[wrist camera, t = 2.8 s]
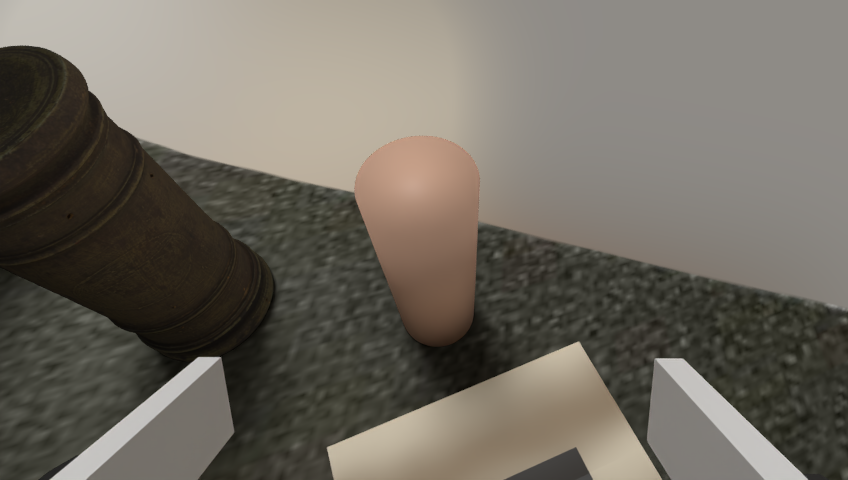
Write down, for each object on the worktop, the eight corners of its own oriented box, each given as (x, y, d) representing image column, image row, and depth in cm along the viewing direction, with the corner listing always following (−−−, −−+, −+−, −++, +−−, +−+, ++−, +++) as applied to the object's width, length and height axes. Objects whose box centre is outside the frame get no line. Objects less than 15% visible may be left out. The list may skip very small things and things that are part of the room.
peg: (392, 293, 29) (341, 158, 17) (456, 268, 30) (450, 121, 18) (416, 358, 26) (375, 253, 15) (486, 330, 27) (501, 206, 15)
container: (296, 267, 31) (128, 51, 16) (229, 382, 27) (-88, 243, 11) (201, 237, 33) (-25, 24, 18) (127, 340, 29) (-253, 176, 14)
